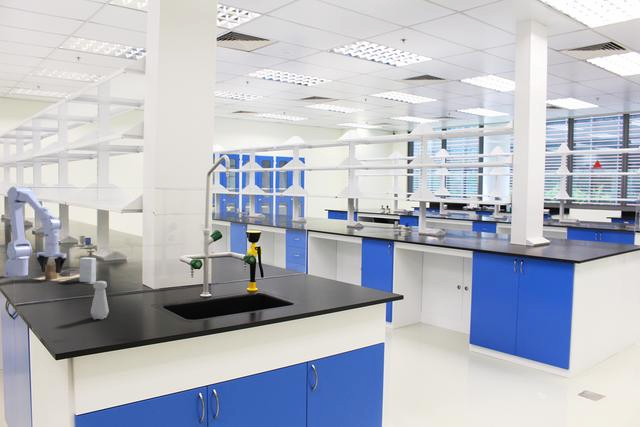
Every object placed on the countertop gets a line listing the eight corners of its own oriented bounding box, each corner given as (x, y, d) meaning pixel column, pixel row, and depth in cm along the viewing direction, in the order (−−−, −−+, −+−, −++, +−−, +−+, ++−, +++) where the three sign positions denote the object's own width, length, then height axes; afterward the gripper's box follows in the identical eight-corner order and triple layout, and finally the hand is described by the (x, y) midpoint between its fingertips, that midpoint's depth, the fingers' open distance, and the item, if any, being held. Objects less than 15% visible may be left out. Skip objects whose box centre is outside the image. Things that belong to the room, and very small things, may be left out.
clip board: (31, 281, 236) (31, 274, 236) (64, 273, 258) (64, 267, 257) (61, 283, 233) (61, 276, 233) (91, 276, 254) (91, 269, 254)
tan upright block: (44, 279, 235) (45, 264, 235) (51, 278, 240) (52, 263, 240) (50, 280, 235) (50, 265, 235) (57, 278, 239) (57, 264, 239)
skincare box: (96, 282, 238) (96, 257, 237) (91, 284, 234) (91, 258, 233) (84, 282, 238) (84, 257, 238) (78, 283, 234) (79, 258, 234)
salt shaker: (94, 316, 177) (94, 279, 177) (110, 316, 178) (111, 280, 177) (87, 320, 171) (88, 282, 171) (105, 320, 172) (105, 283, 171)
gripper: (32, 243, 234) (31, 272, 235) (59, 245, 231) (58, 274, 232) (43, 242, 241) (42, 270, 242) (69, 244, 238) (69, 272, 239)
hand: (51, 272), depth 237 cm, fingers open, 7 cm apart
